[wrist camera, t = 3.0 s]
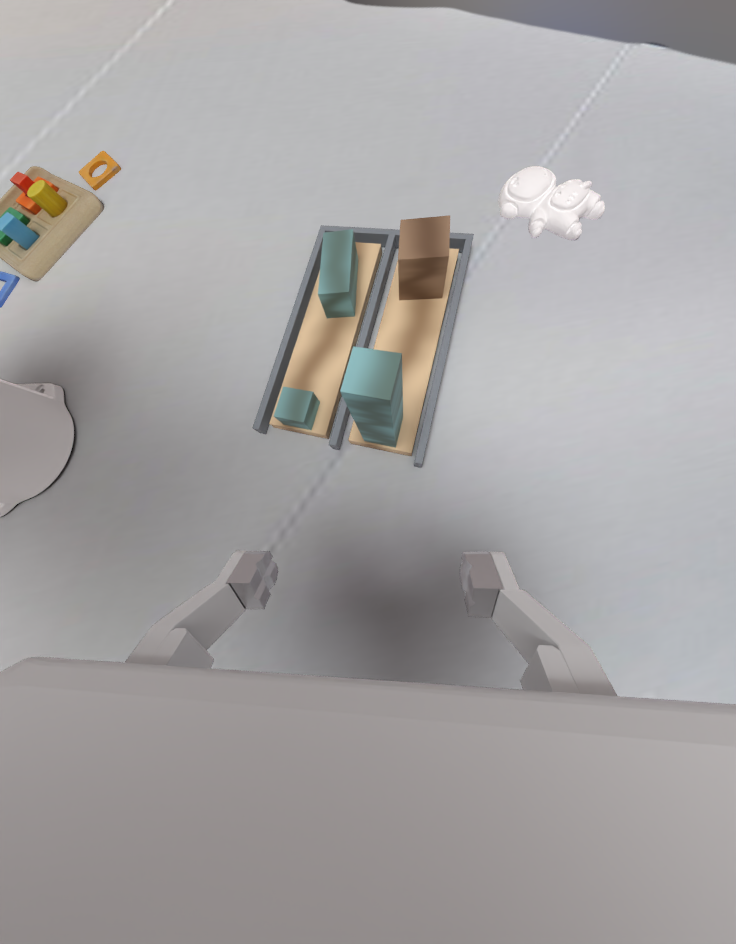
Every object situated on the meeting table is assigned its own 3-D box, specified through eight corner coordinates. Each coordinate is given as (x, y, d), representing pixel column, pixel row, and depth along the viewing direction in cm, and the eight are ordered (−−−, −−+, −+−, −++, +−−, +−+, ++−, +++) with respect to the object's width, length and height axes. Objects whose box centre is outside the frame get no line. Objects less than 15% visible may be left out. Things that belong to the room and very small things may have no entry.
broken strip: (274, 427, 32) (252, 411, 27) (331, 249, 36) (321, 209, 32) (328, 438, 31) (315, 423, 26) (381, 253, 35) (378, 212, 30)
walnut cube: (399, 300, 32) (397, 259, 27) (401, 265, 33) (400, 220, 28) (442, 298, 31) (449, 256, 26) (443, 262, 32) (450, 215, 27)
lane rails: (259, 432, 32) (252, 427, 31) (324, 238, 37) (321, 225, 35) (421, 467, 29) (422, 464, 27) (470, 247, 33) (473, 234, 32)
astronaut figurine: (556, 258, 32) (571, 231, 29) (482, 208, 35) (489, 178, 32) (610, 213, 32) (631, 181, 29) (533, 166, 35) (544, 133, 32)
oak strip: (350, 443, 30) (315, 390, 18) (402, 254, 34) (400, 112, 23) (411, 456, 29) (415, 408, 17) (457, 258, 33) (486, 110, 21)
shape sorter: (80, 144, 50) (48, 107, 46) (142, 174, 46) (114, 136, 41) (-46, 279, 47) (-93, 253, 43) (8, 324, 43) (-38, 301, 39)
